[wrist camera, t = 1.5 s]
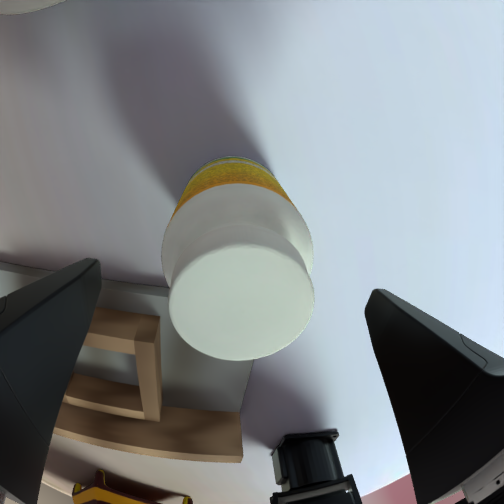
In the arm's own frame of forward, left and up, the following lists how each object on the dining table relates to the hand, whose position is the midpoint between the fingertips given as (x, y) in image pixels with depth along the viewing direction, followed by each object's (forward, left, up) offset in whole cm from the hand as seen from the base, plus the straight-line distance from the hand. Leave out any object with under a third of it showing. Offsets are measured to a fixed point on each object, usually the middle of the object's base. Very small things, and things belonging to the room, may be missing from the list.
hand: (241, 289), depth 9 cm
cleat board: (+8, +13, -8) cm, 17 cm away
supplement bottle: (0, 0, -9) cm, 9 cm away
